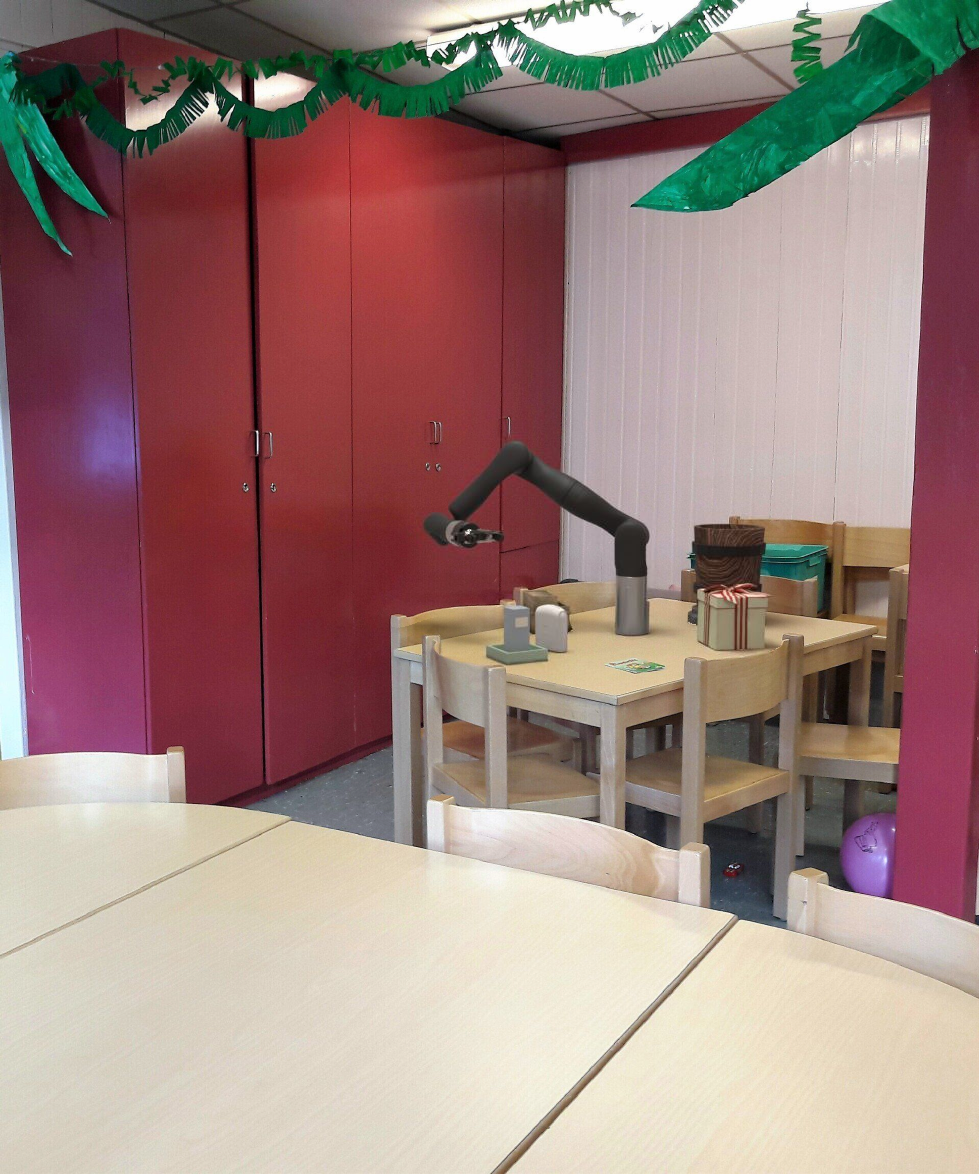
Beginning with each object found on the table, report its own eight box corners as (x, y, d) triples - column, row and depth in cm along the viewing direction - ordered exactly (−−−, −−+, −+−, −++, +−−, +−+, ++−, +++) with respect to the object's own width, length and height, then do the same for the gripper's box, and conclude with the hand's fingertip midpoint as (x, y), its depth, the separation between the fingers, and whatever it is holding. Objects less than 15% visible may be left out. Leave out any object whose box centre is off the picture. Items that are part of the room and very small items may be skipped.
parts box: (520, 653, 288) (520, 605, 286) (530, 657, 283) (530, 608, 281) (503, 655, 285) (503, 606, 283) (513, 659, 281) (513, 609, 279)
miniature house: (528, 636, 315) (528, 597, 314) (516, 627, 329) (516, 590, 327) (577, 634, 319) (578, 595, 317) (563, 625, 332) (563, 589, 331)
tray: (525, 652, 292) (525, 641, 292) (547, 660, 282) (547, 649, 281) (486, 656, 287) (486, 645, 286) (507, 665, 276) (507, 653, 276)
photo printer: (532, 647, 298) (533, 603, 297) (544, 645, 301) (544, 602, 299) (558, 653, 291) (558, 608, 289) (569, 651, 293) (570, 606, 291)
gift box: (722, 654, 290) (724, 590, 287) (691, 641, 307) (693, 581, 305) (779, 650, 294) (781, 588, 292) (745, 638, 312) (747, 579, 309)
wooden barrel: (674, 624, 334) (677, 527, 329) (714, 611, 357) (716, 520, 353) (747, 632, 320) (751, 531, 316) (783, 618, 344) (787, 524, 340)
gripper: (440, 521, 307) (465, 526, 293) (485, 519, 313) (511, 524, 299) (440, 548, 308) (465, 553, 294) (485, 545, 314) (511, 551, 300)
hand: (488, 538), depth 296 cm, fingers open, 8 cm apart
